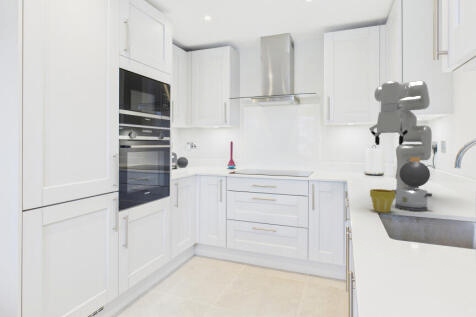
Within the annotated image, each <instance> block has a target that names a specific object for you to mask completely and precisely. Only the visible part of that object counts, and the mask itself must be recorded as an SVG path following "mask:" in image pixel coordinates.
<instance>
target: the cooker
mask: <svg viewBox="0 0 476 317" xmlns="http://www.w3.org/2000/svg"><path fill="white" fill-rule="evenodd" d="M390 190H391V191H395V193H396V196H395V203H394V207H395V208H396V209H398V208H399V210H402V209H403V211H407V210H409V211H408V212H426V211H428V197H431V198H432V197H433V193H431V192H428V190H426V189H421V188H397V187H396V188H395V189H390Z"/></svg>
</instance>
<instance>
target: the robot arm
mask: <svg viewBox="0 0 476 317" xmlns="http://www.w3.org/2000/svg"><path fill="white" fill-rule="evenodd" d="M373 94H374V98H375V99H374V100H376V102H380V111H379V112H378V117H377V123H376V124H374V125H373V126H371V127H369V131H370V132H371V134H372V135H373V137H374V143H375V145H376V146H379V145H380V136H381V134H384V133H385V134H386V133H387V134H388V133H390V134H393V133H395V134H396V133H398V135H399V136H398V146H397V147H396V148H395V156H396V164H397V166H396V188H410V187H408V185H406V184H405V183H404V182H403V181H402V180H401V178H400V169H401V167H402V166H403V165H404V164H406V163H408V162H410V159H411V158H420V161H428V160H430V159H431V156H432V137H433V135H432V128H431V127H430V126H428V125H417V123H418V122H417V121H418V120H417V119H418V118H417V116H416V115H415V113H413V111H419V110H426V109H427V108H428V107H429V106H430V103H431V102H430V101H431V100H430V96H429V89H428V86H427V83H426V82H425V81H424V80H417V81H409V82H398V81H386V82H383V83H382V84H381V86H378V87H376V89H375V91H374V93H373ZM375 129H376V132H375ZM404 142H405V143H404ZM420 143H421V144H420ZM395 197H396V193H395Z"/></svg>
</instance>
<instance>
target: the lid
mask: <svg viewBox="0 0 476 317" xmlns="http://www.w3.org/2000/svg"><path fill="white" fill-rule="evenodd" d="M430 177H431V172H430V170H429V168H428V166H427V165H426V164H424V163H422V162H421V160H420V158H411V159H410V162H408V163H406V164H404V165H403V166H402V167H401V169H400V178H401V180H402V181H403V182H404V183H405V184H406V185H408V187H410V188H417V189H420V187H422V186H424V185H426V183H428V182H429V180H430Z"/></svg>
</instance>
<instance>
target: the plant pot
mask: <svg viewBox="0 0 476 317" xmlns="http://www.w3.org/2000/svg"><path fill="white" fill-rule="evenodd" d="M391 190H392V189H382V188H381V189H380V188H373V189H369V197H370V198H371V203H372V206H373V207H372V208H373V211H374V212H376V213H384V214H389V213H390V212H391V210H392V205H393V201H394V200H396V196H395V191H391Z"/></svg>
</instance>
